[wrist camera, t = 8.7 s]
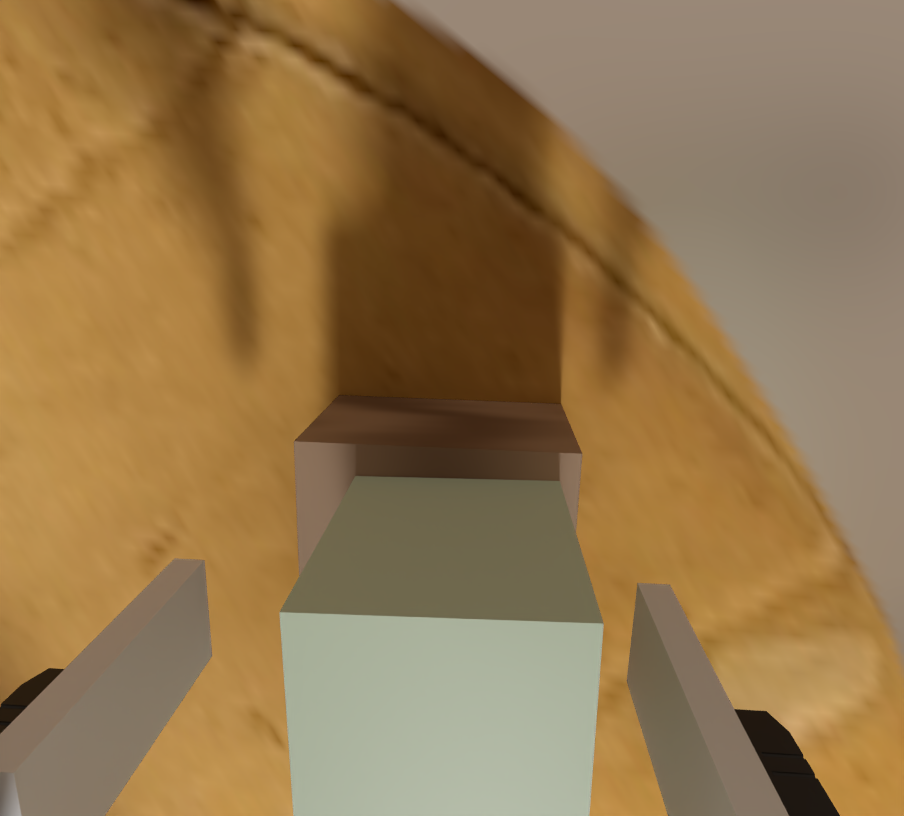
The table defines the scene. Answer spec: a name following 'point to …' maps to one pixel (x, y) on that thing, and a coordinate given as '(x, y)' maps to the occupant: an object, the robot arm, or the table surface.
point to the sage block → (443, 654)
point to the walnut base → (427, 450)
